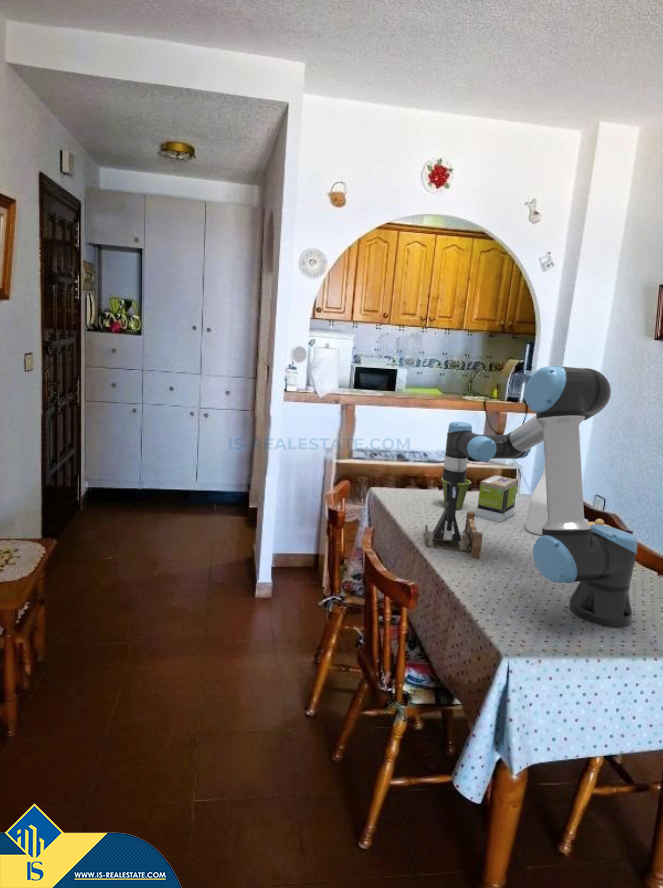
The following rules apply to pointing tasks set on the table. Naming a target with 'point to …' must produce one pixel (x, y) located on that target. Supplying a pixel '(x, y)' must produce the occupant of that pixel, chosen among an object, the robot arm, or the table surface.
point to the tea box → (497, 498)
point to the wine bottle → (538, 508)
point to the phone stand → (441, 524)
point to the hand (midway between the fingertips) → (446, 535)
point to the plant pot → (461, 494)
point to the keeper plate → (447, 542)
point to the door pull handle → (473, 536)
